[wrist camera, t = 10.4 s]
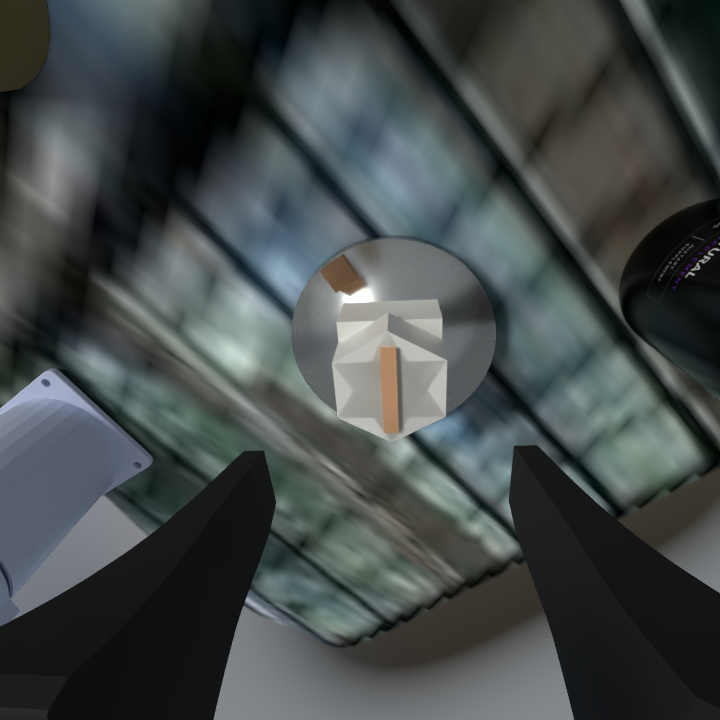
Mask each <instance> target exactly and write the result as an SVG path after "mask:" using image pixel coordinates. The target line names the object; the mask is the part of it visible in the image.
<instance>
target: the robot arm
mask: <svg viewBox="0 0 720 720" xmlns="http://www.w3.org/2000/svg"><path fill="white" fill-rule="evenodd" d="M47 380H48V381H49V382H50V383H49V382H48V381H47ZM139 463H140V464H139ZM152 463H153V457H152V456H151V455H150V454H149V453H148V452H147V451H146V450H145V449H144V448H143V447H142V446H140V445H139V444H138V443H137V442H136V441H135V440H134V439H133V438H132V437H131V436H130V435H129V434H127V433H126V432H125V431H124V430H123V429H122V428H121V427H120V426H119V425H118V424H117V423H116V422H114V421H113V420H112V419H111V418H110V417H109V416H108V415H107V414H106V413H105V412H104V411H103V410H101V409H100V408H99V407H98V406H97V405H96V404H95V403H94V402H93V401H92V400H91V399H90V398H88V397H87V396H86V395H85V394H84V393H83V392H82V391H81V390H80V389H79V388H78V387H77V386H75V385H74V384H73V383H72V382H71V381H70V380H69V379H68V378H67V377H66V376H65V375H64V374H62V373H61V372H60V371H59V370H57V369H49V370H47V371H45V372H44V373H43V374H42V375H40V376H39V377H38V378H37V379H35V380H34V381H33V382H32V383H31V384H29V385H28V386H27V387H26V388H25V389H23V390H22V391H21V392H20V393H18V394H17V395H16V396H15V397H14V398H12V399H11V400H10V401H9V402H8V403H6V404H5V405H4V406H3V407H2V408H0V720H213V719H214V714H215V710H216V706H217V701H218V697H219V693H220V689H221V685H222V681H223V676H224V672H225V668H226V664H227V660H228V656H229V653H230V649H231V645H232V641H233V637H234V633H235V629H236V626H237V623H238V620H239V617H240V614H241V610H242V608H243V605H244V602H245V600H246V597H247V594H248V591H249V589H250V586H251V583H252V580H253V578H254V575H255V572H256V569H257V567H258V564H259V561H260V558H261V555H262V553H263V550H264V547H265V544H266V541H267V538H268V536H269V532H270V527H271V523H272V519H273V514H274V510H275V505H276V500H275V496H274V491H273V487H272V483H271V479H270V474H269V470H268V466H267V462H266V458H265V453H264V451H244V452H243V453H242V454H240V455H239V456H238V457H237V458H236V459H235V460H234V461H233V462H232V463H231V464H230V465H229V466H228V467H227V468H226V469H225V470H224V471H222V472H221V473H220V474H219V475H218V476H217V477H216V478H215V479H214V480H213V481H212V482H211V483H210V484H209V485H208V486H207V487H206V488H204V489H203V490H202V491H201V492H200V493H199V494H198V495H197V496H196V497H195V498H194V499H193V500H191V501H190V502H189V503H188V504H187V505H186V506H184V507H183V508H182V509H181V510H180V511H179V512H177V513H176V514H175V515H174V516H173V517H172V518H170V519H169V520H168V521H167V522H166V523H165V524H163V525H162V526H161V527H160V528H158V529H157V530H156V531H155V532H153V533H152V534H151V535H149V536H148V537H147V538H145V539H144V540H143V541H141V542H140V543H139V544H137V545H136V546H135V547H133V548H132V549H130V550H129V551H128V552H126V553H125V554H123V555H122V556H120V557H119V558H118V559H116V560H114V561H113V562H111V563H110V564H108V565H107V566H105V567H104V568H102V569H101V570H99V571H97V572H96V573H94V574H93V575H91V576H90V577H88V578H87V579H85V580H84V581H82V582H80V583H79V584H77V585H75V586H74V587H72V588H70V589H69V590H67V591H65V592H63V593H62V594H60V595H58V596H57V597H55V598H53V599H51V600H49V601H48V602H46V603H44V604H42V605H41V606H39V607H37V608H35V609H33V610H31V611H29V612H27V613H26V614H24V615H22V616H20V617H18V618H16V619H14V620H12V619H13V618H14V617H15V616H16V615H17V613H18V612H19V609H18V608H17V607H16V606H15V605H14V603H13V602H12V600H11V599H12V597H14V595H15V594H16V593H17V592H18V591H19V590H20V589H21V587H22V586H23V585H24V584H25V583H26V581H27V580H28V579H29V578H30V577H31V576H32V575H33V574H34V572H35V571H36V570H37V569H38V568H39V567H40V565H41V564H42V563H43V562H44V561H45V560H46V559H47V557H48V556H49V555H50V554H51V553H52V552H53V550H54V549H55V548H56V547H57V546H58V545H59V543H60V542H61V541H62V540H63V539H64V538H65V537H66V535H67V534H68V533H69V532H70V531H71V530H72V528H73V527H74V526H75V525H76V524H77V523H78V521H79V520H80V519H81V518H82V517H83V516H84V515H85V514H86V512H87V511H88V510H89V509H90V508H91V507H92V506H93V504H94V503H95V502H96V501H97V500H98V499H99V497H100V496H102V495H104V494H105V493H107V492H109V491H110V490H112V489H114V488H115V487H117V486H119V485H120V484H122V483H123V482H125V481H127V480H128V479H130V478H132V477H133V476H135V475H136V474H138V473H140V472H141V471H143V470H145V469H146V468H148V467H149V466H150V465H151V464H152ZM509 504H510V508H511V513H512V517H513V521H514V525H515V530H516V534H517V537H518V540H519V543H520V546H521V549H522V551H523V554H524V557H525V560H526V562H527V565H528V568H529V571H530V573H531V576H532V579H533V582H534V584H535V587H536V589H537V593H538V595H539V598H540V601H541V603H542V606H543V609H544V612H545V614H546V617H547V620H548V623H549V626H550V629H551V632H552V636H553V639H554V642H555V647H556V650H557V654H558V658H559V661H560V665H561V669H562V672H563V677H564V681H565V685H566V689H567V692H568V696H569V700H570V704H571V708H572V712H573V716H574V720H720V593H719V592H717V591H715V590H714V589H712V588H711V587H709V586H707V585H706V584H704V583H703V582H701V581H700V580H698V579H697V578H695V577H694V576H692V575H691V574H689V573H687V572H686V571H684V570H683V569H681V568H680V567H679V566H677V565H675V564H674V563H673V562H671V561H670V560H668V559H667V558H666V557H664V556H663V555H662V554H660V553H659V552H657V551H656V550H655V549H653V548H652V547H650V546H649V545H648V544H646V543H645V542H643V541H642V540H641V539H640V538H638V537H637V536H636V535H634V534H633V533H632V532H631V531H629V530H628V529H627V528H625V527H624V526H623V525H622V524H621V523H620V522H618V521H617V520H616V519H615V518H614V517H612V516H611V515H610V514H609V513H608V512H606V511H605V510H604V509H603V508H602V507H601V506H600V505H598V504H597V503H596V502H595V501H594V500H593V499H592V498H591V497H590V496H589V495H588V494H586V493H585V492H584V491H583V490H582V489H581V488H580V487H579V486H578V485H577V484H576V483H575V482H574V481H573V480H572V479H570V478H569V477H568V476H567V475H566V474H565V473H564V472H563V471H562V470H561V469H560V468H559V467H558V466H557V465H556V464H555V463H554V462H553V461H552V460H551V459H550V458H549V457H548V456H547V455H546V454H545V453H544V452H543V451H542V450H541V449H540V448H539V447H538V446H537V445H533V446H514V452H513V463H512V473H511V484H510V495H509Z"/></svg>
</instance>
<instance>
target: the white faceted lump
mask: <svg viewBox="0 0 720 720" xmlns="http://www.w3.org/2000/svg"><path fill="white" fill-rule="evenodd" d="M442 320H443V318H442V315H441V311H440V307H439V304H438V300H437V299H430V300H406V301H381V302H356V303H343V305H342V308H341V311H340V314H339V316H338V319H337V322H336V323H337V333H338V345H337V348H336V352H335V355H334V358H333V361H332V369H333V378H334V387H335V396H336V405H337V414H338V418H339V419H341V420H343V421H346V422H348V423H350V424H352V425H355V426H357V427H359V428H361V429H363V430H366V431H368V432H370V433H372V434H374V435H377V436H379V437H381V438H383V439H386V440H388V441H390V442H394V441H396V440H398V439H400V438H402V437H405V436H407V435H409V434H411V433H413V432H415V431H417V430H419V429H421V428H423V427H425V426H427V425H430V424H432V423H434V422H436V421H438V420H440V419H442V418H444V417H446V386H447V358H446V353H445V349H444V345H443V341H442Z"/></svg>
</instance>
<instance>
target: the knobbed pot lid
mask: <svg viewBox="0 0 720 720" xmlns="http://www.w3.org/2000/svg"><path fill="white" fill-rule="evenodd" d="M430 299H437V300H438V304H439V307H440V311H441V315H442V318H443V320H442V341H443V345H444V349H445V353H446V358H447V386H446V414H447V413H449V412H450V411H452V410H454V409H455V408H457V407H458V406H459V405H461V404H462V403H463V402H464V401H465V400H466V399H467V398H468V397H470V396H471V395H472V394H473V392H474V391H475V390H476V389H477V387H478V386H479V385H480V383H481V382H482V380H483V379H484V377H485V375H486V373H487V371H488V369H489V367H490V364H491V362H492V358H493V355H494V351H495V344H496V323H495V316H494V312H493V309H492V306H491V302H490V300H489V298H488V296H487V294H486V292H485V290H484V288H483V286H482V285H481V283H480V282H479V280H478V279H477V277H476V276H475V275H474V273H473V272H472V271H471V270H470V269H469V267H468V266H467V265H466V264H465V263H464V262H463V261H461V260H460V259H459V258H458V257H457V256H455V255H454V254H453V253H451V252H449V251H448V250H446V249H444V248H443V247H441V246H439V245H436V244H434V243H431V242H429V241H426V240H422V239H418V238H415V237H407V236H381V237H374V238H370V239H366V240H363V241H359V242H357V243H354V244H352V245H350V246H347V247H345V248H344V249H342V250H340V251H339V252H337V253H336V254H334V255H333V256H332V257H330V258H329V259H328V260H327V261H325V262H324V263H323V264H322V265H321V266H320V268H319V269H318V270H317V271H316V272H315V273H314V275H313V276H312V277H311V279H310V280H309V282H308V283H307V285H306V286H305V288H304V289H303V291H302V293H301V295H300V297H299V299H298V302H297V305H296V308H295V311H294V315H293V321H292V334H291V337H292V347H293V352H294V356H295V360H296V362H297V365H298V367H299V370H300V372H301V374H302V376H303V377H304V379H305V381H306V382H307V384H308V385H309V386H310V388H311V389H312V390H313V392H314V393H315V394H316V395H317V396H318V397H319V398H320V399H321V400H322V401H324V402H325V403H326V404H327V405H328V406H330V407H331V408H333V409H334V410H336V411H337V405H336V396H335V387H334V378H333V369H332V361H333V358H334V355H335V352H336V348H337V345H338V333H337V323H336V322H337V319H338V316H339V314H340V311H341V308H342V305H343V303H356V302H381V301H406V300H430Z"/></svg>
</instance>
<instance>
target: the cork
mask: <svg viewBox="0 0 720 720" xmlns="http://www.w3.org/2000/svg"><path fill="white" fill-rule="evenodd" d="M49 40H50V25H49V16H48V7H47V2H46V0H0V92H4V91H11V90H17V89H21V88H22V87H24V86H25V85H26V84H28V83H29V82H31V81H32V80H34V79H35V78H36V77H37V75H38V73H39V71H40V70H41V68H42V66H43V64H44V63H45V61H46V59H47V52H48V46H49Z"/></svg>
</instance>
